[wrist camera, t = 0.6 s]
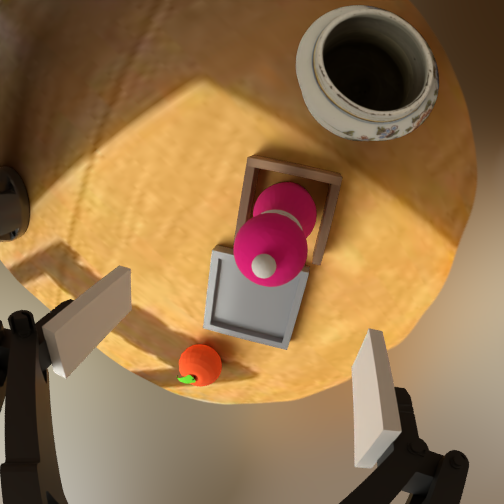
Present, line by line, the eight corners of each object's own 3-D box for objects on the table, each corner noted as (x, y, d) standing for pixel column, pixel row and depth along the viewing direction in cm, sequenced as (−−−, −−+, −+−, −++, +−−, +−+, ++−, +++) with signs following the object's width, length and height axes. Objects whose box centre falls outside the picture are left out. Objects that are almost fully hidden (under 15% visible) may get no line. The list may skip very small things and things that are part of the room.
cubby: (239, 236, 44) (233, 245, 40) (253, 155, 39) (247, 157, 36) (320, 255, 42) (320, 265, 39) (340, 173, 38) (342, 177, 35)
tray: (207, 321, 50) (203, 328, 48) (216, 244, 45) (212, 250, 43) (288, 341, 48) (287, 349, 46) (309, 266, 43) (309, 273, 41)
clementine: (197, 372, 55) (184, 399, 48) (175, 344, 53) (158, 369, 47) (234, 362, 52) (223, 391, 45) (211, 330, 50) (197, 358, 44)
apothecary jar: (350, 28, 31) (369, -38, 14) (418, 98, 32) (486, 81, 16) (282, 89, 36) (254, 58, 19) (352, 159, 37) (379, 181, 21)
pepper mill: (328, 207, 40) (335, 274, 22) (288, 243, 43) (263, 331, 24) (287, 165, 39) (260, 198, 21) (248, 205, 42) (192, 267, 24)
